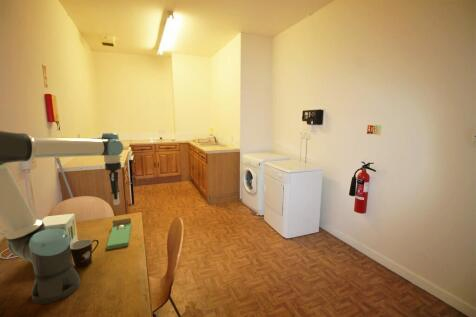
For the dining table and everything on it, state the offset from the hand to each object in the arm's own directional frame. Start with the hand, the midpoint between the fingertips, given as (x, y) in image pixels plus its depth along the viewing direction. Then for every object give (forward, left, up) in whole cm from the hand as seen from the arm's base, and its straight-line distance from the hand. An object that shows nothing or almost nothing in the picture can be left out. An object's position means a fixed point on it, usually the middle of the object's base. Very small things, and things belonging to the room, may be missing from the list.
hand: (116, 204), depth 129 cm
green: (+2, 0, -20) cm, 20 cm away
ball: (+9, 0, -18) cm, 20 cm away
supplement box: (-5, +27, -20) cm, 34 cm away
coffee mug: (-20, +12, -20) cm, 31 cm away
